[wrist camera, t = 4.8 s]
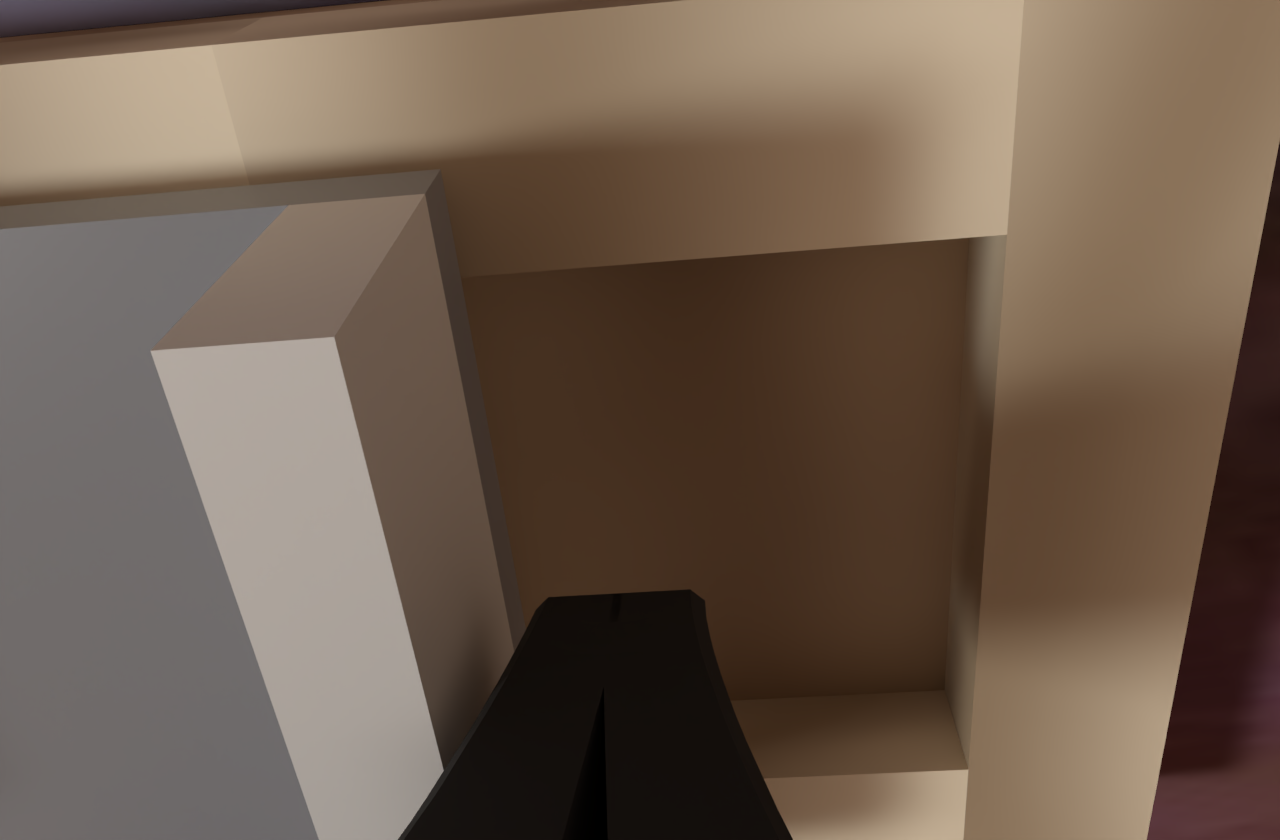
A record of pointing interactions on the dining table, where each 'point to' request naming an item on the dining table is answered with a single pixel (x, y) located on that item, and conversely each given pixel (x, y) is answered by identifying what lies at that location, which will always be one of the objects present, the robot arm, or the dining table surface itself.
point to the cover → (242, 513)
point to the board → (798, 333)
